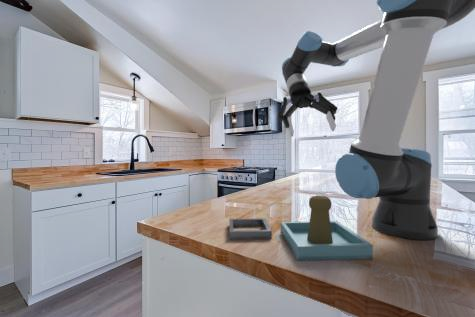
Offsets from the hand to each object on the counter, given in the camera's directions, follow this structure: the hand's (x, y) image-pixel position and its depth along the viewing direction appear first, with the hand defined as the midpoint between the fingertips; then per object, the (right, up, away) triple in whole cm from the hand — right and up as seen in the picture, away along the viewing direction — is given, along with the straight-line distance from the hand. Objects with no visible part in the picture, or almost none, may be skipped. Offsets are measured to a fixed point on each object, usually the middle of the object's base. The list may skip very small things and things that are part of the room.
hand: (313, 131), depth 74 cm
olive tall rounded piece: (-4, -29, -18) cm, 35 cm away
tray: (-4, -30, -18) cm, 35 cm away
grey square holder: (-22, -30, -10) cm, 38 cm away
